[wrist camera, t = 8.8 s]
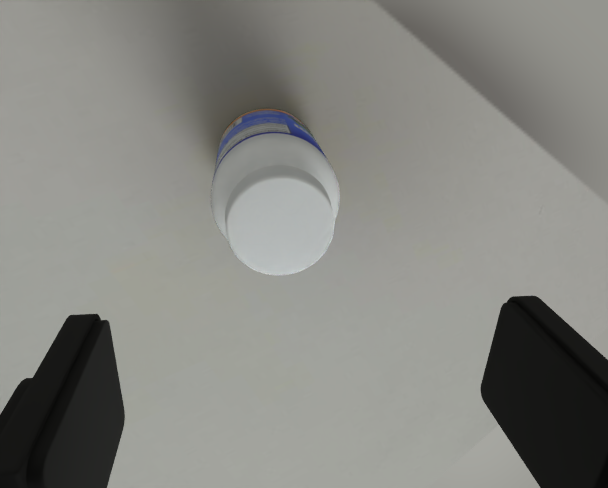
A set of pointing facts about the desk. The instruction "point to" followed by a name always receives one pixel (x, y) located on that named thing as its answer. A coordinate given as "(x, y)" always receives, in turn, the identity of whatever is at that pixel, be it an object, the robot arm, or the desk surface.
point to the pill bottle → (274, 193)
